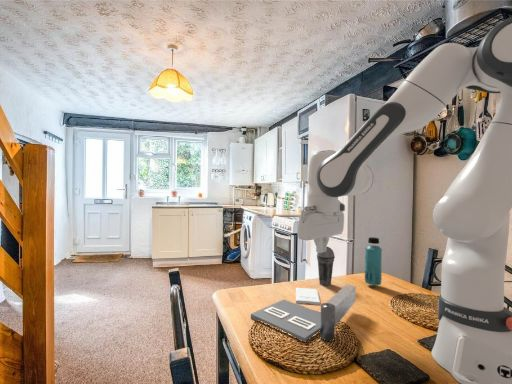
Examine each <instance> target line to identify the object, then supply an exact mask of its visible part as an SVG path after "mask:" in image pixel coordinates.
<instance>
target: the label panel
mask: <svg viewBox="0 0 512 384" xmlns="http://www.w3.org/2000/svg"><path fill="white" fill-rule="evenodd" d="M250 319H252V320H254V321H256V320H260V321H263V322H265V323H268V324H270V325H272V326H274V327H277V328H279V329H281V330H283V331H285V332H287V333H289V334H291V335H293V336H294V337H296V338H298V339H300V340H302V341H304V342H305V341H306V340H308V339H309V338H311V337H312V336H313V335H314V334H316V333H317V332H318V331H319V330H320V322H321V311H317V310H314V309H312V308H309V307H305V306H303V305H300V304H299V303H296V302H292V301H288V300H286V299H282V300H279V301H277V302H275V303H273V304H270V305H268V306H266V307H264V308H261V309H259V310H256V311H254V312H252V313H250ZM312 338H313V337H312ZM312 338H311V339H312ZM302 341H301V342H302ZM308 341H309V340H308ZM304 342H303V343H304ZM305 343H306V342H305Z"/></svg>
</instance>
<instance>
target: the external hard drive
mask: <svg viewBox="0 0 512 384" xmlns="http://www.w3.org/2000/svg"><path fill="white" fill-rule="evenodd" d="M295 304H304V305H306V304H307V305H315V306H317V305H318V306H321V301H320V295H319V291H318V289H316V288H309V287H308V288H305V287H295Z"/></svg>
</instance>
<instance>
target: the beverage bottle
mask: <svg viewBox="0 0 512 384" xmlns="http://www.w3.org/2000/svg"><path fill="white" fill-rule="evenodd" d="M367 241H368V243H369V244H368V245H366V247H365V254H364V255H365V258H364V262H365V263H364V264H365V265H364V281H365V284H368V285H372V286H380V285H382V277H383V275H382V251H383V249H382V248H381V246H379V245H378V244H380V239H379V237H372V236H371V237H368V240H367ZM376 244H377V245H376Z"/></svg>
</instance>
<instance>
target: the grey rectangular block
mask: <svg viewBox="0 0 512 384" xmlns="http://www.w3.org/2000/svg"><path fill="white" fill-rule="evenodd" d="M356 289H357V288H356V286H354V285H351V284H345V285H344V286H342V288H341V289H339V290H338V292H337V293H335V294H334V295H333V296H332V297H331V298H330V299H329V300H328V301H326V302H323V303H320V313H321V322H320V333H319V334H320V335H319V338H320V337H321V338H322V339H321V338H320V339H321V340H323V339H325V340H333V339H334V338H335V337H336V335H335V330H336V326H337V325H338V324H339V322H340V321H341V320H342V319H343V318H344V316H345V315H346V313H348V312H349V310H350V309H351V308H352V307H353V306H354V304H355V303H356ZM325 340H324V341H325ZM334 340H335V339H334ZM334 340H333V341H334Z"/></svg>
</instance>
